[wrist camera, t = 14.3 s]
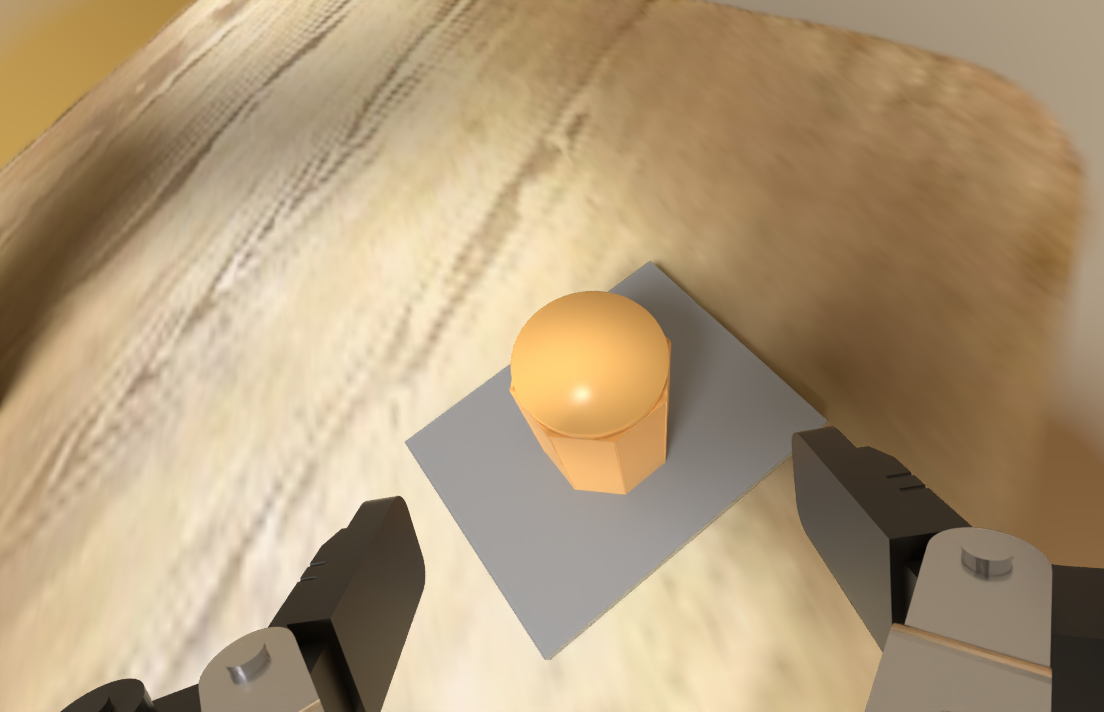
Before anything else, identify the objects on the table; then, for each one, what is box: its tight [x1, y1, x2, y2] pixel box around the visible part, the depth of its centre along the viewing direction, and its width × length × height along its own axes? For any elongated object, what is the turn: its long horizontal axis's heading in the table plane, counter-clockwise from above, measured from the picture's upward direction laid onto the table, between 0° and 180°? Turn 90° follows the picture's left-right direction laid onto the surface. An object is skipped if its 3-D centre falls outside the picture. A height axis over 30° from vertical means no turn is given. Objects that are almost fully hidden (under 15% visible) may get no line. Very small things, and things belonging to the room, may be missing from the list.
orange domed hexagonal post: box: [509, 291, 671, 495], centre depth 24 cm, size 6×6×8 cm
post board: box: [405, 261, 828, 660], centre depth 26 cm, size 16×12×8 cm
